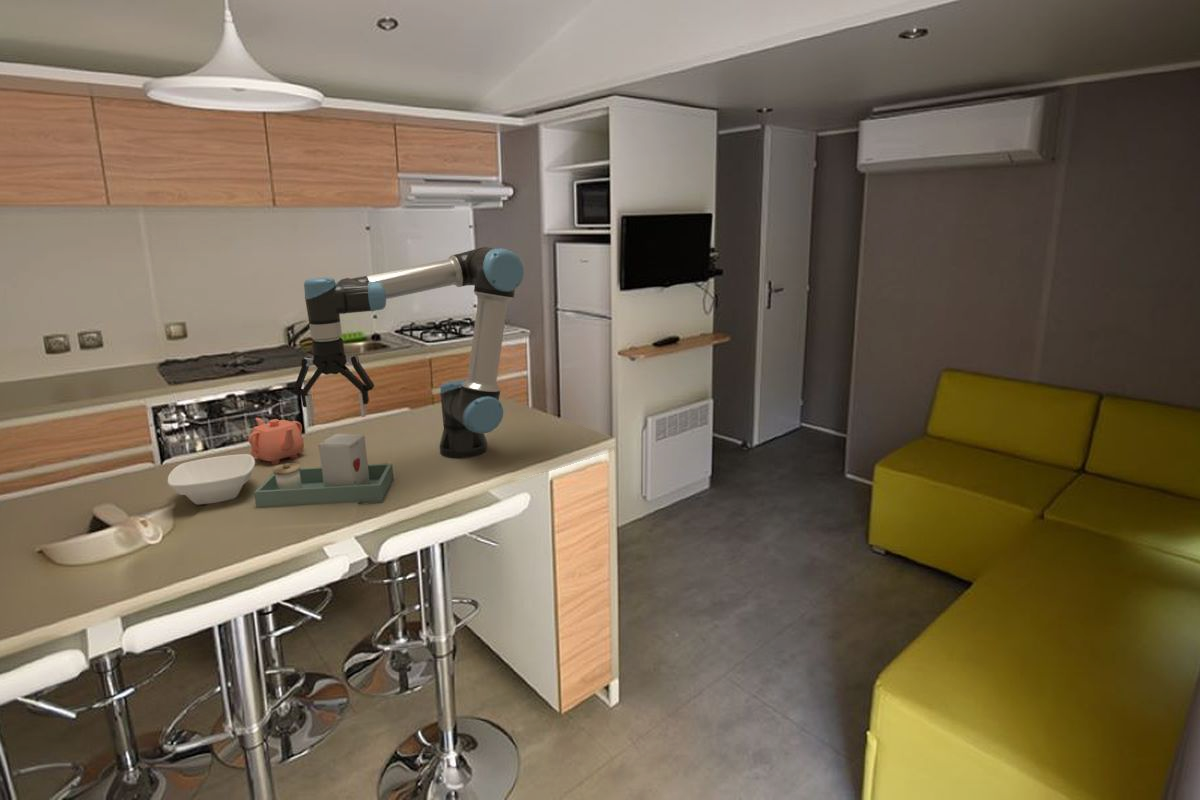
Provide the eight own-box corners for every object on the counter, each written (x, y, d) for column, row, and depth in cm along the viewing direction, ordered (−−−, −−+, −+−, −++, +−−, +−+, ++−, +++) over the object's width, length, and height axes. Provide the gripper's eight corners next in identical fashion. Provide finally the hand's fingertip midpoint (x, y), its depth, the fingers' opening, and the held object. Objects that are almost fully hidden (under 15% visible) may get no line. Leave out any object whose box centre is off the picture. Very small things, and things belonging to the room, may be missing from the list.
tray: (393, 479, 194) (392, 463, 192) (382, 502, 178) (380, 485, 177) (278, 486, 191) (276, 469, 189) (256, 510, 175) (253, 492, 174)
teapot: (298, 465, 206) (292, 426, 203) (242, 468, 205) (235, 428, 202) (313, 448, 221) (308, 412, 217) (261, 451, 219) (255, 414, 216)
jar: (305, 488, 187) (302, 464, 185) (298, 497, 181) (294, 473, 179) (283, 489, 186) (279, 466, 184) (275, 498, 180) (271, 474, 178)
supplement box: (355, 497, 180) (348, 445, 176) (324, 496, 181) (317, 443, 177) (371, 484, 189) (365, 433, 184) (341, 483, 190) (334, 432, 186)
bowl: (167, 520, 171) (161, 489, 168) (180, 490, 189) (174, 462, 187) (257, 505, 179) (252, 475, 176) (261, 478, 197) (256, 450, 195)
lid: (303, 464, 185) (303, 459, 185) (295, 474, 178) (294, 468, 178) (278, 465, 184) (277, 460, 184) (268, 475, 178) (268, 469, 177)
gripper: (379, 333, 178) (388, 410, 184) (282, 338, 176) (294, 415, 182) (373, 339, 171) (382, 418, 177) (271, 343, 169) (284, 423, 174)
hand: (338, 417), depth 179 cm, fingers open, 13 cm apart
